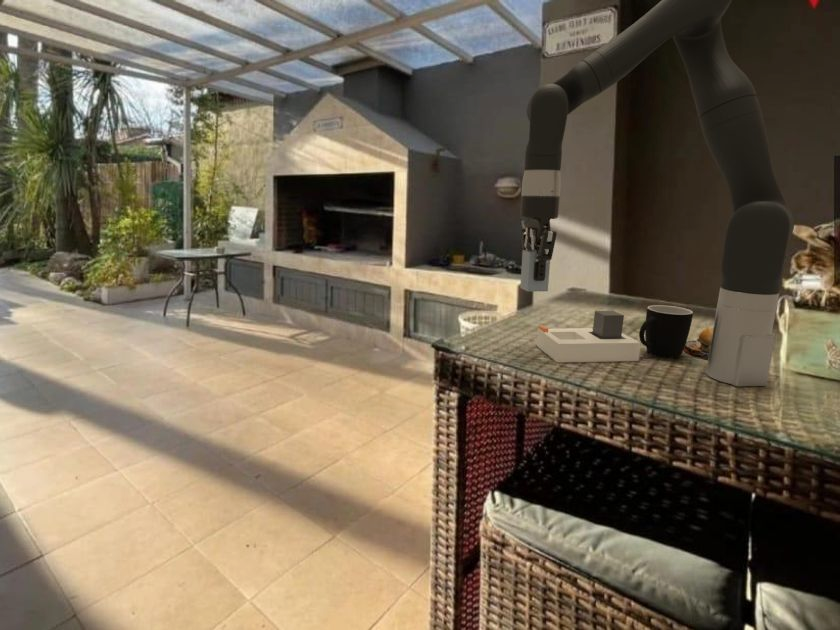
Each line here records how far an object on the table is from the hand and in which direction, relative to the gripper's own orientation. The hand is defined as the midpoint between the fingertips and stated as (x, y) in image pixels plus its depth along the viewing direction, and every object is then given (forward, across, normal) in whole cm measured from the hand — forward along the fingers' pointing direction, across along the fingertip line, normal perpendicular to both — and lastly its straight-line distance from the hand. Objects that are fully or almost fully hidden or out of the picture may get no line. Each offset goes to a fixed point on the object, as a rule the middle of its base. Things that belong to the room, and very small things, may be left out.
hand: (534, 278), depth 103 cm
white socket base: (+17, 0, -13) cm, 21 cm away
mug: (+17, -2, -29) cm, 34 cm away
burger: (+17, -2, -42) cm, 45 cm away
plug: (+2, 0, 0) cm, 2 cm away
